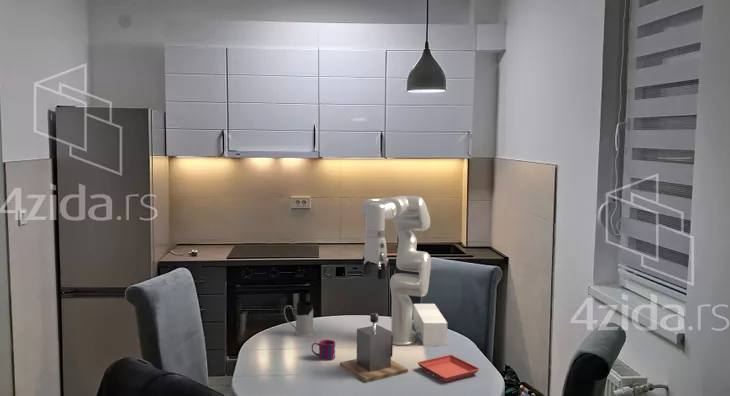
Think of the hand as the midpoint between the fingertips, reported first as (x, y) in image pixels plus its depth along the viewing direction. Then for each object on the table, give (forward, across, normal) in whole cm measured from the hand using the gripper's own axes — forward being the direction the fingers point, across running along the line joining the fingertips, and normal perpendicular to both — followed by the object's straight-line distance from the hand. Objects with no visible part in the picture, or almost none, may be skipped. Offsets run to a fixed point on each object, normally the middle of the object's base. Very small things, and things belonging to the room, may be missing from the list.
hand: (374, 276), depth 250 cm
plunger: (+36, 0, 0) cm, 36 cm away
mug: (+38, +22, +11) cm, 46 cm away
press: (+37, -1, -2) cm, 37 cm away
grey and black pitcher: (+38, +55, +6) cm, 67 cm away
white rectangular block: (+39, +23, -47) cm, 65 cm away
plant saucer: (+39, -19, -24) cm, 49 cm away
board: (+38, 0, 0) cm, 38 cm away
